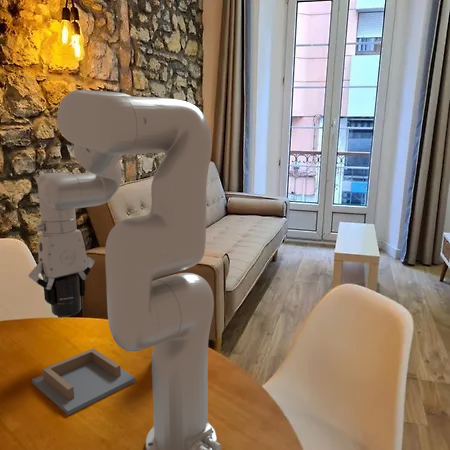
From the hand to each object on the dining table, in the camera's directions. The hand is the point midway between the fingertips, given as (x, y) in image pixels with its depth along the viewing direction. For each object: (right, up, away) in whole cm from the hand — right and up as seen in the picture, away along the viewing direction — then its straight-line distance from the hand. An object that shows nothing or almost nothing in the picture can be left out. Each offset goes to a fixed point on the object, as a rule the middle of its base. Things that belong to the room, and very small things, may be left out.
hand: (66, 298), depth 105 cm
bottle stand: (+7, -17, -8) cm, 20 cm away
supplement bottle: (0, -3, +1) cm, 4 cm away
